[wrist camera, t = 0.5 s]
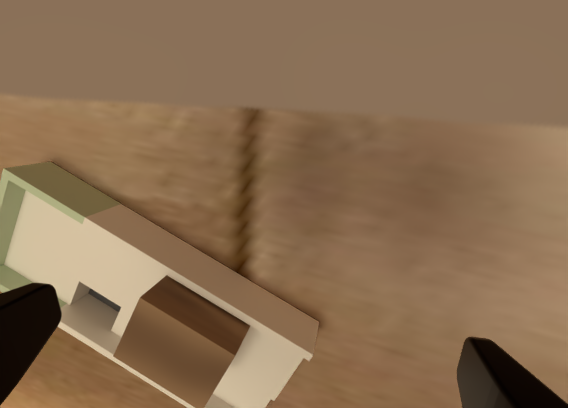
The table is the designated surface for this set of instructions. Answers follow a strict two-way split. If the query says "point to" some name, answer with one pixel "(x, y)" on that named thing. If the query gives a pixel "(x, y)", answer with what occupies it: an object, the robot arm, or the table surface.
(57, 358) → the table surface
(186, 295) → the walnut block
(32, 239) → the tray
